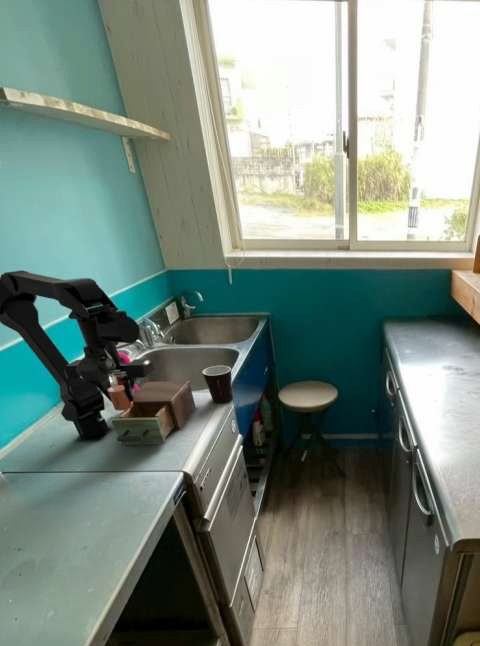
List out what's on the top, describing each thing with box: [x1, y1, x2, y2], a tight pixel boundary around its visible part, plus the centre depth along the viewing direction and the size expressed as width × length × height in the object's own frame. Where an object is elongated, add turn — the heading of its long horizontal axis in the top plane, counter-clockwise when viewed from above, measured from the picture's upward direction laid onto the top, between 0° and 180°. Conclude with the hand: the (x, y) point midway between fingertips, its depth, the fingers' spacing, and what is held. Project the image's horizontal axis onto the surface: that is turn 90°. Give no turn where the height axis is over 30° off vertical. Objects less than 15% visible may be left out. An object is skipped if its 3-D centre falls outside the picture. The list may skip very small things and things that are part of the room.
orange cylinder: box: [107, 384, 134, 411], centre depth 98 cm, size 4×6×5 cm
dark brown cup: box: [202, 365, 234, 405], centre depth 126 cm, size 12×9×10 cm
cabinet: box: [132, 380, 197, 431], centre depth 116 cm, size 15×13×9 cm
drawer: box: [111, 404, 176, 446], centre depth 106 cm, size 18×11×7 cm, turn 2°
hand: (122, 401), depth 99 cm, fingers closed on orange cylinder, 4 cm apart
